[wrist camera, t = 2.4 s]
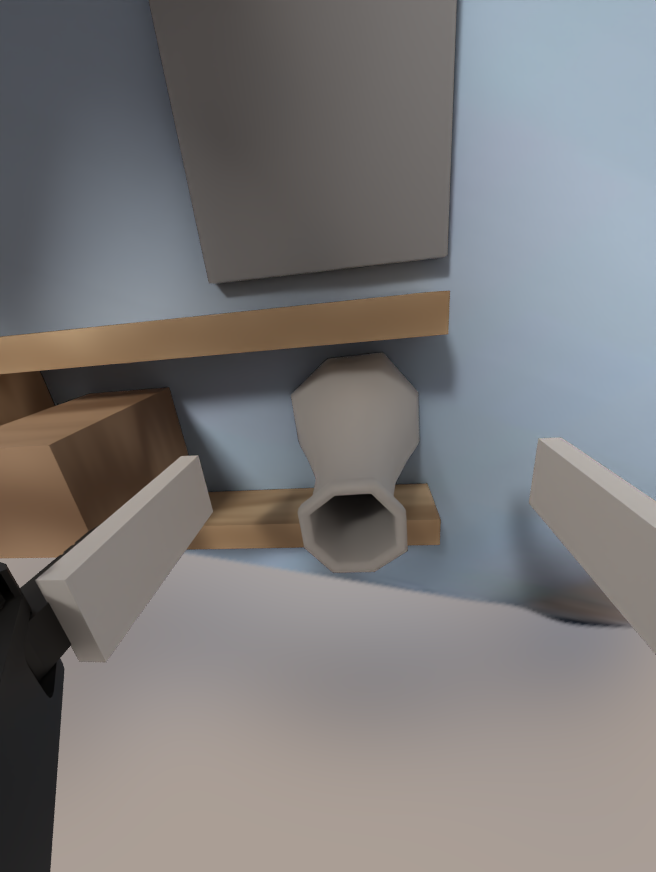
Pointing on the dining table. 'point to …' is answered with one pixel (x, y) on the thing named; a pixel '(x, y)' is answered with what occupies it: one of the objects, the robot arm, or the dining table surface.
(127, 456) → the walnut block
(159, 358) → the rack
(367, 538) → the flask
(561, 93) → the dining table surface
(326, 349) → the dining table surface
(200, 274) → the dining table surface
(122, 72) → the dining table surface
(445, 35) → the coaster
